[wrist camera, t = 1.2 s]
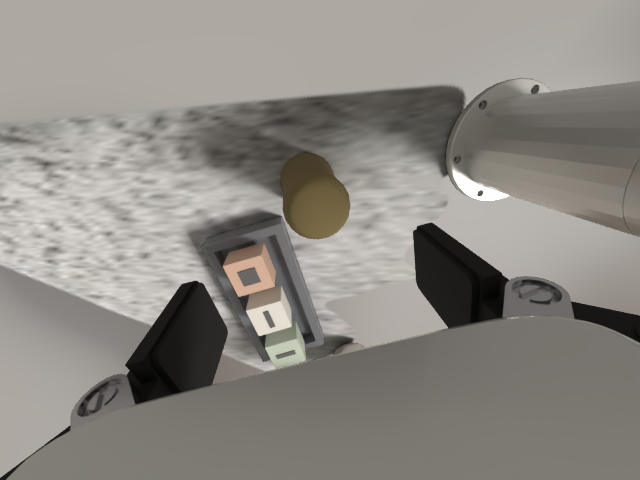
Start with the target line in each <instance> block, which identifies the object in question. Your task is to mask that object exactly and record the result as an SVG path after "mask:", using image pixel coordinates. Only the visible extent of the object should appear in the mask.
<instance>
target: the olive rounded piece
mask: <svg viewBox="0 0 640 480" xmlns="http://www.w3.org/2000/svg"><path fill="white" fill-rule="evenodd" d="M280 184H281V188H282V191H283V193H284V197H283V213H284V216H285V220H286V221H287V223H288V224H289V225H290V227H291V228H292V229H293V230H294V231H295V232H296V233H298V234H299V235H301V236H303V237H306V238H309V239H322V238H326V237H329V236H331V235H333V234H335V233H337V232H338V231H339V230H340V229H341V228H342V227H343V226H344V224H345V222H346V220H347V218H348V216H349V210H350V200H349V194H348V192H347V190H346V189H345V187H344V185H343V184H342V183H341V182H340V181H339V180H338V179H337V178H336V177H334V174H333V170H332V168H331V166H330V165H329V163H328V162H327V161H326V160H325V159H324V158H323V157H320V156H318V155H316V154H312V153H303V154H299V155H296V156H294V157H293V158H291V159H290V160H289V161H288V162H287V163H286V164H285V166H284V168H283V170H282V173H281V180H280Z"/></svg>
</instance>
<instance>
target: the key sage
mask: <svg viewBox="0 0 640 480" xmlns="http://www.w3.org/2000/svg"><path fill="white" fill-rule="evenodd" d="M265 349H266V351H267V353H268V355H269V357H270V359H271V361H272V363H273V365H274V367H275V368H276V369H278V368H281V367H285V366H288V365H291V364H295V363H298V362H302V361H305V360H306V355H305V342H304V339H303V337H302V334H301V332H300V330H299V327H298V325H297V322H296V321H294V322H292V327H289V328H286V329H283V330H279V331H276V332H272V333H269V334H266V341H265Z"/></svg>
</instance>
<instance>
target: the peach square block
mask: <svg viewBox="0 0 640 480" xmlns="http://www.w3.org/2000/svg"><path fill="white" fill-rule="evenodd" d="M223 268H224V270H225V272H226V274H227V276H228V278H229V280H230V282H231V284H232V286H233V287H234V289H235V291H236V293H237V295H238V297H241V296H244V295H248V294H251V293H255V292H258V291H262V290H265V289H268V288H272V287H275V276H276V271H275V268H274V266H273V263H272V261H271V259H270V256H269V254H268V251H267V249H266V246H265V244H264V242H263V243H260V244H256V245H253V246H249V247H246V248H242V249H239V250H235V251H232V252H229V253H228V256H227V258H226V260H225V262H224V264H223Z"/></svg>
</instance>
